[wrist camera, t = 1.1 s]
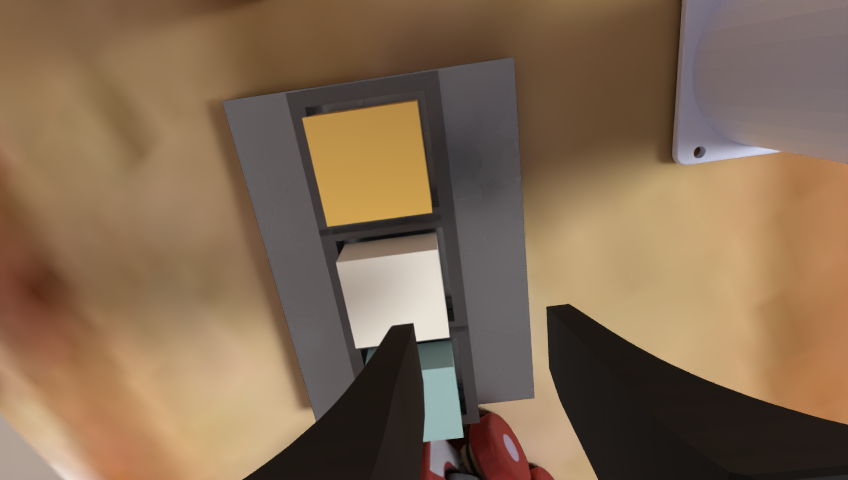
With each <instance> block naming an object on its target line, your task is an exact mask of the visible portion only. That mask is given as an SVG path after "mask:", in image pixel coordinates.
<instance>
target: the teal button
mask: <svg viewBox="0 0 848 480" xmlns="http://www.w3.org/2000/svg"><path fill="white" fill-rule="evenodd" d="M417 347H418V352H419V358H420V364H421V370H422V376H423V381H424V401H425V423H424V437H423V442H427V441H436V440H446V439H455V438H464V437H463V428H462V419H461V410H460V402H459V395H458V388H457V380H456V373H455V366H454V359H453V351H452V344H451V340H448V341H440V342H431V343H423V344H417ZM375 351H376V349H373V350H368V354H367V359H366V364H367V362H368V361H369V359H370V358H371V357H372V355H373V354H374V352H375ZM366 364H365V365H366Z"/></svg>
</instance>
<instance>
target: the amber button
mask: <svg viewBox="0 0 848 480" xmlns="http://www.w3.org/2000/svg"><path fill="white" fill-rule="evenodd" d="M302 120H303V124H304V128H305V133H306V137H307V141H308V146H309V150H310V154H311V158H312V163H313V167H314V171H315V176H316V180H317V184H318V188H319V193H320V197H321V201H322V205H323V210H324V214H325V218H326V223H327V227H330V226H337V225H344V224H352V223H359V222H367V221H374V220H381V219H389V218H396V217H404V216H411V215H419V214H426V213H432V201H431V193H430V185H429V178H428V171H427V164H426V156H425V149H424V142H423V135H422V128H421V120H420V113H419V106H418V99H415V100H408V101H401V102H394V103H388V104H381V105H374V106H368V107H361V108H354V109H347V110H341V111H334V112H327V113H320V114H315V115H311V116H308V117H304V118H302Z"/></svg>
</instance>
